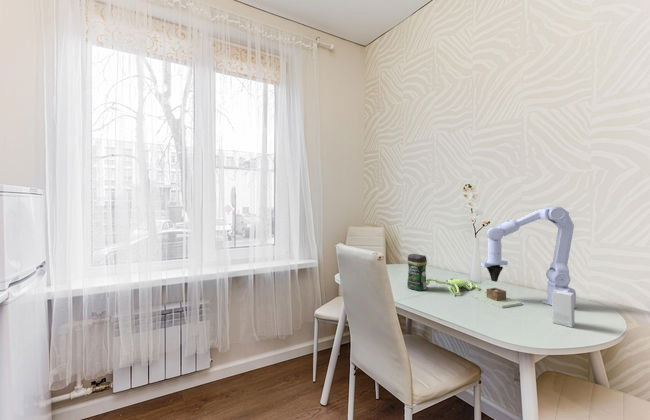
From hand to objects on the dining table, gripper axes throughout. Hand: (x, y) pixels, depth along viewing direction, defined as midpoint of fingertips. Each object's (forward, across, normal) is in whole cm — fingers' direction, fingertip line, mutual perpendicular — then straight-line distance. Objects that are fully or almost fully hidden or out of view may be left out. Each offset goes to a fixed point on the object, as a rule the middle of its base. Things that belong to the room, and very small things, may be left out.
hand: (494, 281), depth 140 cm
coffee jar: (+8, +25, -26) cm, 37 cm away
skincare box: (+9, +1, +31) cm, 32 cm away
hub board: (+8, +2, +3) cm, 9 cm away
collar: (+7, +2, +3) cm, 8 cm away
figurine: (+9, +8, -19) cm, 22 cm away
